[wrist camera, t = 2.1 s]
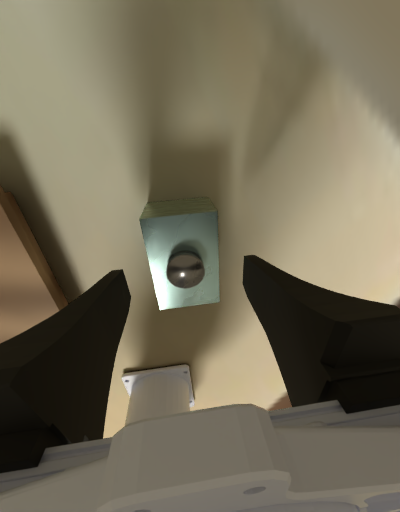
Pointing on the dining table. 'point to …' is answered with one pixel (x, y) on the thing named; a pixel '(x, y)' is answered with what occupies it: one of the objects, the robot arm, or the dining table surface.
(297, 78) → the dining table surface
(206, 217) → the block
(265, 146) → the dining table surface
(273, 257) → the dining table surface
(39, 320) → the stand
